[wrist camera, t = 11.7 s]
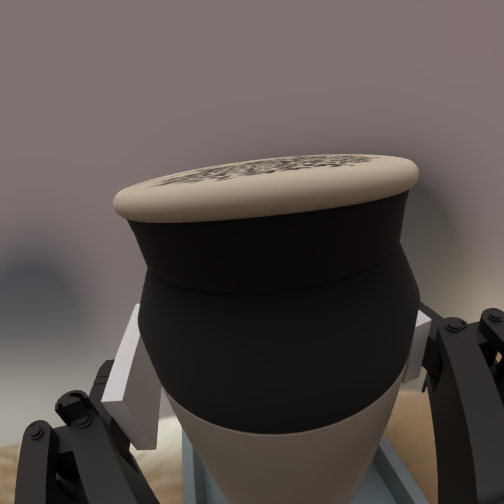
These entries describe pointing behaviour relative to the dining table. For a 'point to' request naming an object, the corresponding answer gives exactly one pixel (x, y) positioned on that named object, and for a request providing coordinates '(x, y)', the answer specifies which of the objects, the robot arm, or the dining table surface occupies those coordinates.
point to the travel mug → (279, 315)
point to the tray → (365, 500)
